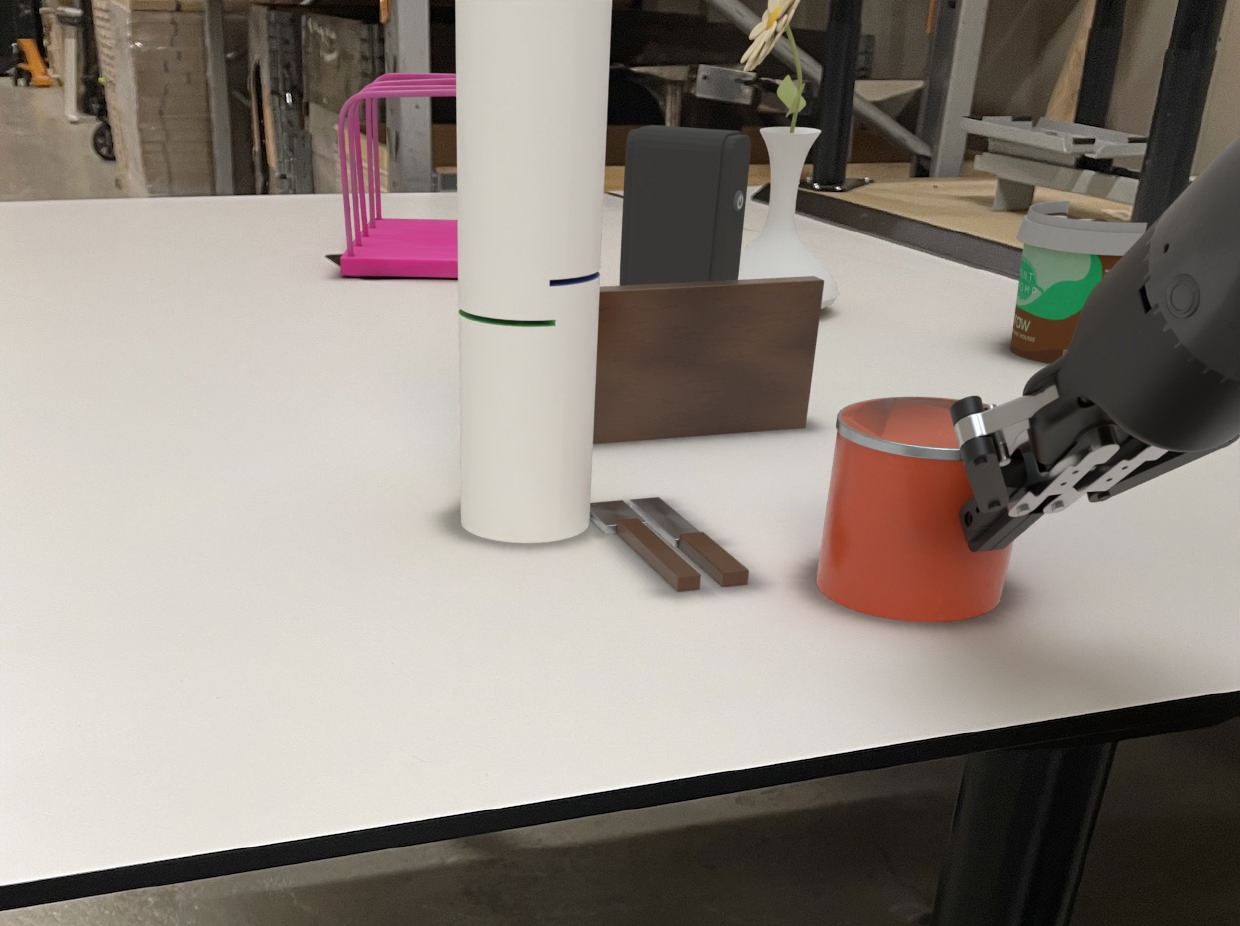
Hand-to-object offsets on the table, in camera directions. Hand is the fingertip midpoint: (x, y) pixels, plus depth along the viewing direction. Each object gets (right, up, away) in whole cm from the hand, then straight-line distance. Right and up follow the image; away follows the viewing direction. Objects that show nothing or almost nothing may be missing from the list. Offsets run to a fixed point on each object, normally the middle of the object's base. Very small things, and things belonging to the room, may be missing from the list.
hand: (978, 532), depth 64 cm
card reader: (-8, +31, +50) cm, 59 cm away
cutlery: (-13, +3, +11) cm, 17 cm away
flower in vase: (+2, +38, +60) cm, 71 cm away
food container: (+21, +29, +48) cm, 60 cm away
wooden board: (-9, +16, +29) cm, 34 cm away
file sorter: (-28, +54, +82) cm, 102 cm away
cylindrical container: (-20, +5, +15) cm, 25 cm away
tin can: (-1, -1, +7) cm, 7 cm away
